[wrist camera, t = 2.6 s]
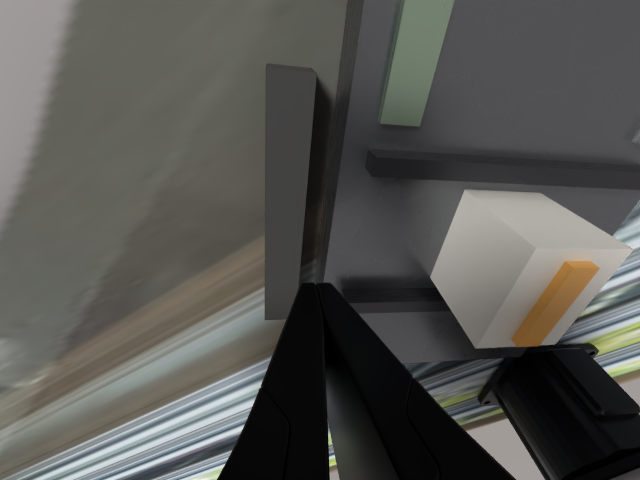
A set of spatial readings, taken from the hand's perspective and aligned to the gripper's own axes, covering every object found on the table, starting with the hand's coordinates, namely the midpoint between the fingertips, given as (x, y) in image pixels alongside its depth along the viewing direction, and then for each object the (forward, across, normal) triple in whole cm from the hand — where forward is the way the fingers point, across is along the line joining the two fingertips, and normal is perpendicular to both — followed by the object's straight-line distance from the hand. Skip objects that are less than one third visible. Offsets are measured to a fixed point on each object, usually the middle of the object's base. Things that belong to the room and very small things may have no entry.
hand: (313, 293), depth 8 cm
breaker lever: (+3, -7, 0) cm, 7 cm away
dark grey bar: (+5, +1, 0) cm, 5 cm away
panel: (+5, -7, 0) cm, 8 cm away
